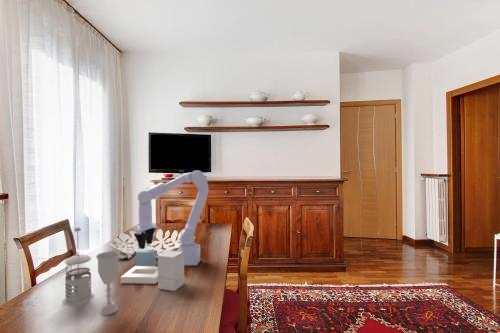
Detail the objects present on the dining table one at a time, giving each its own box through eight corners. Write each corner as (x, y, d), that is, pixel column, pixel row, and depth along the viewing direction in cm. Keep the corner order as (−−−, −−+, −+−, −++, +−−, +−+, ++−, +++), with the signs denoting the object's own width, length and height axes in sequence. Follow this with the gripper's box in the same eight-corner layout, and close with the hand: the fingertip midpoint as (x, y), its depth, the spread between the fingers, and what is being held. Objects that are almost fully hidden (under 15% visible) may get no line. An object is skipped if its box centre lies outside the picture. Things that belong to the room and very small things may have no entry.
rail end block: (155, 265, 134) (155, 250, 134) (152, 267, 130) (152, 252, 130) (139, 264, 134) (139, 249, 134) (135, 267, 131) (135, 252, 131)
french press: (70, 308, 94) (69, 232, 93) (53, 299, 100) (52, 228, 100) (100, 296, 102) (99, 226, 102) (82, 289, 108) (81, 222, 108)
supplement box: (185, 283, 112) (184, 251, 112) (174, 291, 105) (173, 257, 105) (168, 281, 115) (168, 249, 115) (157, 288, 108) (156, 255, 108)
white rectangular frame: (166, 272, 125) (166, 266, 125) (155, 283, 113) (155, 277, 113) (134, 271, 125) (134, 266, 125) (120, 283, 113) (120, 276, 113)
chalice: (102, 305, 95) (102, 251, 95) (123, 304, 96) (123, 250, 96) (92, 317, 88) (91, 258, 88) (115, 316, 89) (114, 258, 88)
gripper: (143, 213, 139) (143, 241, 140) (129, 219, 125) (129, 250, 125) (157, 213, 139) (158, 241, 139) (145, 219, 125) (145, 250, 125)
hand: (145, 246), depth 132 cm, fingers open, 7 cm apart
